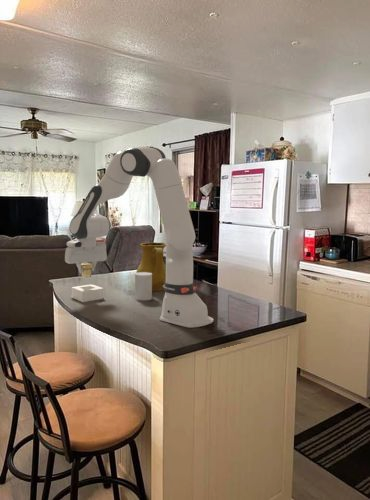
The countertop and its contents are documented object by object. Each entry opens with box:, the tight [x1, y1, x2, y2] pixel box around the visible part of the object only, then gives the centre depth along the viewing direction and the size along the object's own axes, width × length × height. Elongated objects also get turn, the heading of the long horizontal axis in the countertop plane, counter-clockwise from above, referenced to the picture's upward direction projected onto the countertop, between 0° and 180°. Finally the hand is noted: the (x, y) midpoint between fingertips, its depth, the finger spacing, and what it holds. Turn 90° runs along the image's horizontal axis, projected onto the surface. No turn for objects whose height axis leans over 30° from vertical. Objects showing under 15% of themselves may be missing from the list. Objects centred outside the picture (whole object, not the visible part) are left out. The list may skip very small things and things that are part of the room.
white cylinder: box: [134, 272, 153, 301], centre depth 190 cm, size 8×8×12 cm
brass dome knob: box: [80, 263, 93, 278], centre depth 187 cm, size 6×6×6 cm
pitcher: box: [135, 241, 166, 292], centre depth 208 cm, size 17×19×25 cm
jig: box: [71, 283, 105, 303], centre depth 188 cm, size 11×11×5 cm
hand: (86, 271), depth 187 cm, fingers closed on brass dome knob, 4 cm apart
